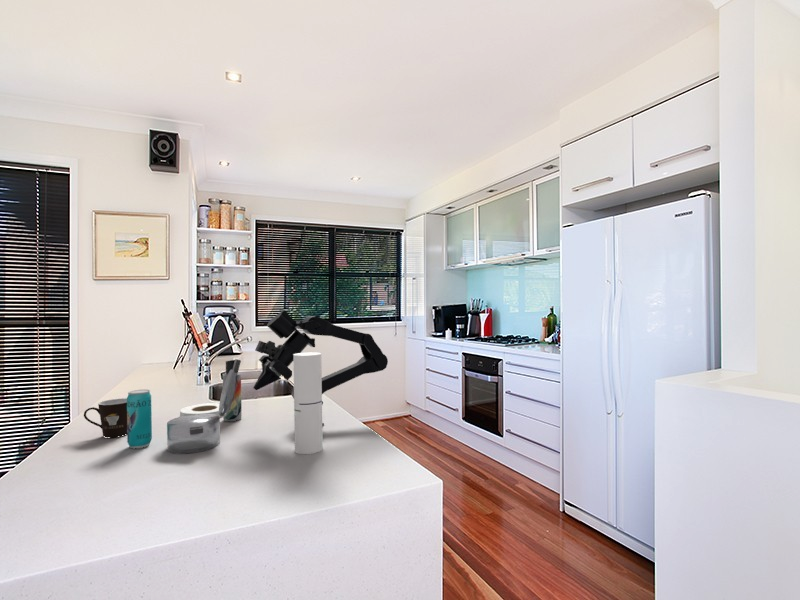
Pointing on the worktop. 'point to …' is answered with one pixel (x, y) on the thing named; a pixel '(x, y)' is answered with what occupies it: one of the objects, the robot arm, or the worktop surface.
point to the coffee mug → (111, 417)
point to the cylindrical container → (308, 402)
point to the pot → (193, 433)
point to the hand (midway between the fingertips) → (254, 389)
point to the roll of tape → (201, 409)
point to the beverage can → (139, 418)
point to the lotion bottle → (235, 408)
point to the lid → (229, 389)
